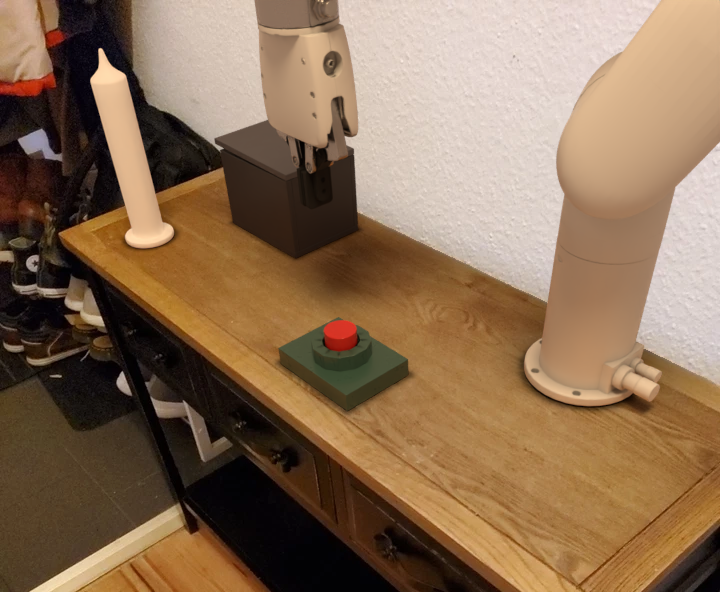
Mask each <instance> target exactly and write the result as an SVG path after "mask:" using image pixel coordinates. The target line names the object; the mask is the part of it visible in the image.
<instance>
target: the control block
mask: <svg viewBox="0 0 720 592" xmlns="http://www.w3.org/2000/svg"><path fill="white" fill-rule="evenodd" d="M338 320H344V318H342V317H340V316H338V317H336V318H333V319H332V320H330V321H328V322H326V323H323V324H322V325H320V326H318V327H316V328H314V329H312V330H310V331H308V332H306V333H305V334H302V335H301V336H299V337H297V338H295V339H292V340H291V341H288V342H287V343H285V344H283V345H282V346H279V347H278V348H277V349H278V355H279V362H280V364H281V365H282V366H283V367H285V368H286V369H287V370H289V371H290V372H291V373H294V374H295V375H296V376H297V377H299V378H300V379H301V380H302V381H305V383H307V384H308V385H310V386H311V387H313V388H314V389H315V390H317V391H318V392H319V393H321V394H323V395H324V396H325V397H326V398H328V399H329V400H331V401H332V402H333V403H335V404H336V405H338V406H339V407H341V408H342V409H344V411H346V412H348V411H350V410H352V409H354V408H356V407H357V406H359V405H360V404H362V403H364V402H365V401H367V400H369V399H371V398H372V397H374V396H375V395H377V394H379V393H381V392H383V391H384V390H386V389H388V388H389V387H391V386H392V385H394V384H397V382H400V381H401V380H403V379H404V378H406V377H408V376H409V358H408V357H405V356H404V355H403V354H400V353H399V352H398V351H396V350H394V349H392V348H391V347H389V346H388V345H386V344H384V343H382V342H381V341H379V340H378V339H376V338H375V337H373V336H371V335H370V332H369V331H368V330H366V329H365V328H363V327H362V326H361V325H358V324H355V326H356V327H357V345H356V346H355V347H354V348H352V349H350V350H346V351H339V352H338V351H332V350H330V349H328V348H327V347H326V345H325V338H324V328H325V326H326V325H327V324H329V323H331V322H333V321H338Z"/></svg>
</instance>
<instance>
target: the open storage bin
mask: <svg viewBox="0 0 720 592" xmlns="http://www.w3.org/2000/svg"><path fill="white" fill-rule="evenodd" d="M219 153H220V158H221V164H222V169H223V175H224V181H225V186H226V193H227V197H228V203H229V207H230V208H229V209H230V214H231V220H232V223H233V224H235V225H236V226H238V227H239V228H241V229H243V230H245V231H246V232H249V233H250V234H252V235H253V236H255V237H257V238H259V239H260V240H263V241H264V242H266V243H267V244H269V245H271V246H273V247H274V248H277V249H278V250H280V251H282V252H284V253H285V254H287V255H288V256H290V257H293V258H294V259H298V258H300V257H302V256H304V255H307V254H309V253H311V252H313V251H315V250H317V249H320V248H322V247H324V246H326V245H328V244H331V243H332V242H335V241H337V240H340V239H341V238H343V237H346V236H348V235H350V234H352V233H354V232H357V231H359V217H358V216H359V215H358V201H357V199H358V197H357V180H356V162H355V154H353V155H351V156H348V157H346V158H343V159H341V160H338V161H336V162H333V165H332V166H330V170H331V181H332V193H333V199H332V201H331V202H329V203H327V204H324V205H322V206H319V207H317V208H314V209H309V208H307V206H303V205H302V204H301V203H300V195H299V186H298V178H297V177H295V178H293V179H290V180H288V181H285V180H283V179H281V178H279V177H277V176H275V175H274V174H272V173H270V172H268V171H266V170H264V169H262V168H260V167H258V166H256V165H255V164H253V163H251V162H249V161H247V160H245V159H243V158H241V157H239V156H237V155H235V154H234V153H232V152H230V151H228V150H226V149H224V148H221V149H219Z"/></svg>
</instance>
